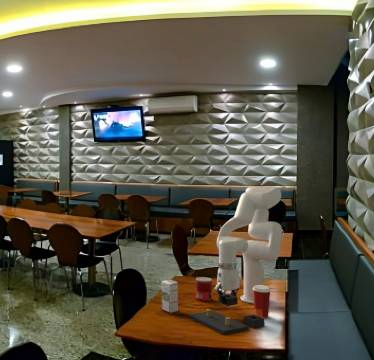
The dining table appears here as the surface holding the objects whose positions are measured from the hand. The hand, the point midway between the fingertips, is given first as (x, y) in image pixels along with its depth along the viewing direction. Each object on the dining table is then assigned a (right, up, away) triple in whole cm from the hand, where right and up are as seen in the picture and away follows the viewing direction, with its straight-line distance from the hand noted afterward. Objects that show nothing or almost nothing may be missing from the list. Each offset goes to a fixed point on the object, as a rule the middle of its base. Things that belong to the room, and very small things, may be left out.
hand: (228, 302), depth 213 cm
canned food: (-4, -5, +22) cm, 23 cm away
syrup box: (-26, -6, +6) cm, 28 cm away
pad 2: (+5, -6, -15) cm, 17 cm away
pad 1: (0, -1, 0) cm, 1 cm away
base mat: (-10, -6, -12) cm, 17 cm away
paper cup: (+14, -6, -4) cm, 16 cm away
